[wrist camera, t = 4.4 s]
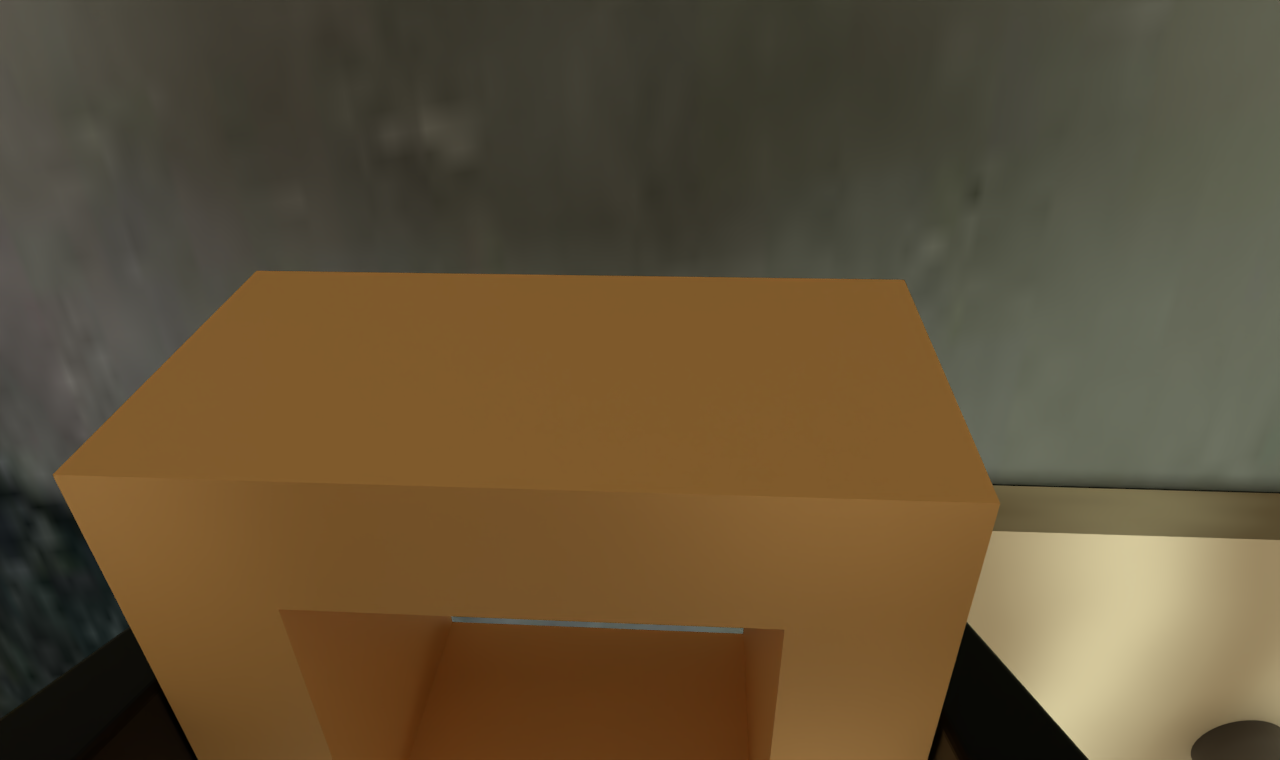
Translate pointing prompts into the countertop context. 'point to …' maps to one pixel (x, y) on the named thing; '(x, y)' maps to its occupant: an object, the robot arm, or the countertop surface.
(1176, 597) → the keeper board
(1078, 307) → the countertop surface
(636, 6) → the countertop surface
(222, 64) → the countertop surface
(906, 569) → the ring
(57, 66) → the countertop surface
